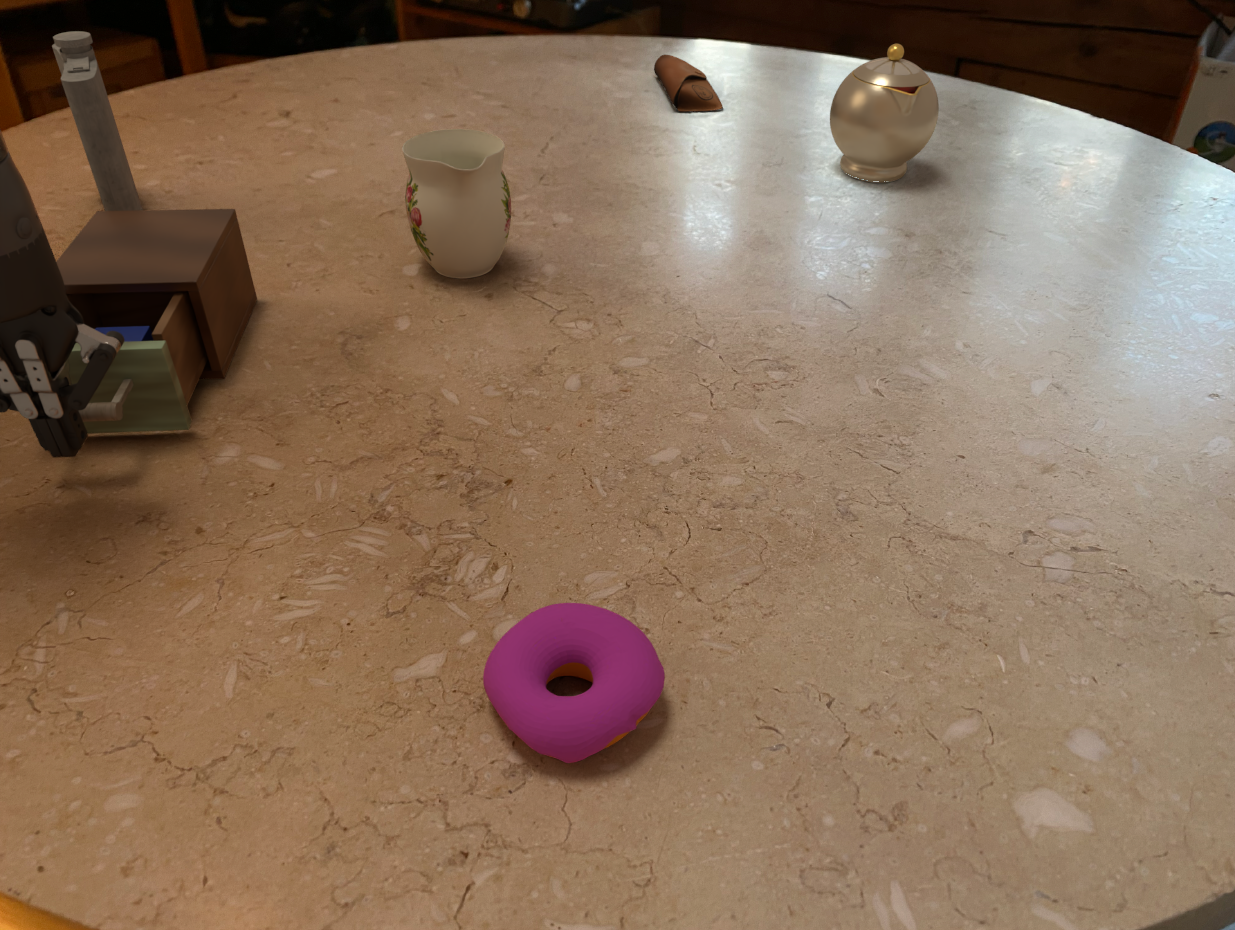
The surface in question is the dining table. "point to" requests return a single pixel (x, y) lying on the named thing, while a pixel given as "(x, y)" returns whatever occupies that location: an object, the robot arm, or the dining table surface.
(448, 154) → the pitcher
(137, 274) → the cabinet
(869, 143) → the teapot
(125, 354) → the compartment
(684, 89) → the sunglasses case
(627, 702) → the donut
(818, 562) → the dining table surface
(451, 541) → the dining table surface
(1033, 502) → the dining table surface
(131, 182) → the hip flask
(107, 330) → the navy blue cube
